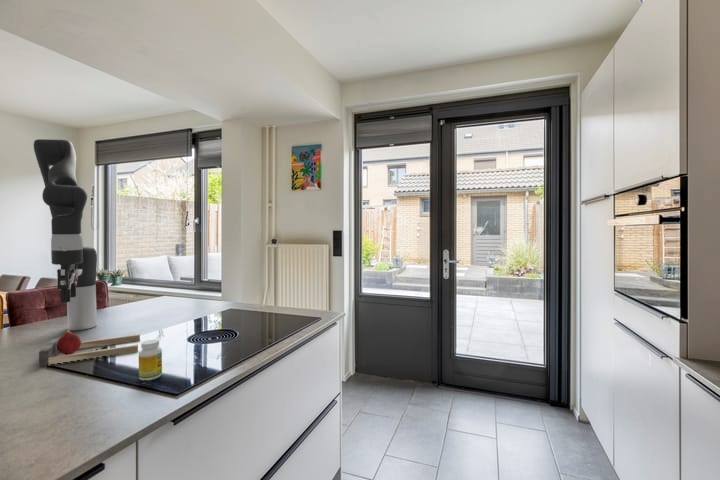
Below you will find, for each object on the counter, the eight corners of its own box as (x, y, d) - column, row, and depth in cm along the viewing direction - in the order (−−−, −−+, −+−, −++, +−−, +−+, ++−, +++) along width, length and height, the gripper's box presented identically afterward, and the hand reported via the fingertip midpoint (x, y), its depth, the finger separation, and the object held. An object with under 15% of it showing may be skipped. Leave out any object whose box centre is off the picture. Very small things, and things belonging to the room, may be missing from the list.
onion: (86, 352, 110) (85, 328, 109) (69, 359, 104) (68, 333, 104) (69, 352, 110) (68, 327, 110) (52, 358, 104) (51, 333, 104)
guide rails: (52, 351, 110) (52, 338, 110) (139, 339, 123) (139, 327, 123) (39, 366, 98) (38, 351, 98) (137, 351, 110) (137, 337, 110)
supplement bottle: (140, 374, 92) (139, 340, 92) (163, 371, 95) (162, 337, 95) (137, 382, 88) (136, 346, 87) (161, 378, 90) (160, 343, 90)
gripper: (57, 248, 110) (58, 297, 111) (44, 250, 98) (46, 305, 99) (86, 247, 114) (87, 294, 115) (78, 249, 102) (79, 302, 103)
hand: (68, 299), depth 107 cm, fingers open, 8 cm apart
